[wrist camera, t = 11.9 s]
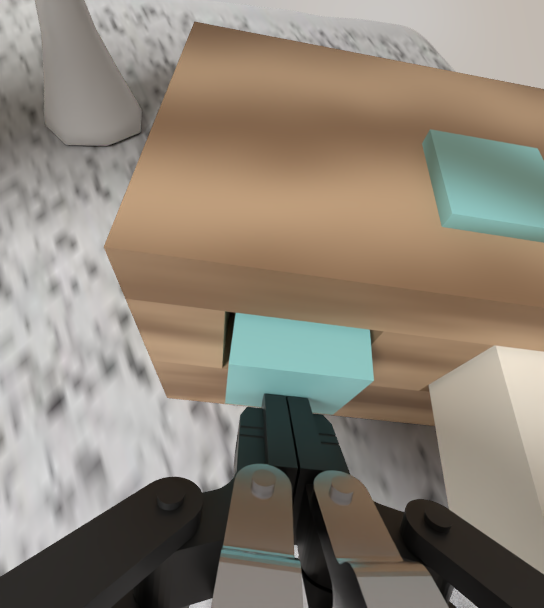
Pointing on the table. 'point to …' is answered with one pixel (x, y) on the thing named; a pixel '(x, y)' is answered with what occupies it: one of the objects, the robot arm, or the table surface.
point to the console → (334, 214)
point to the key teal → (297, 362)
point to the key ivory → (495, 446)
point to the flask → (82, 79)
